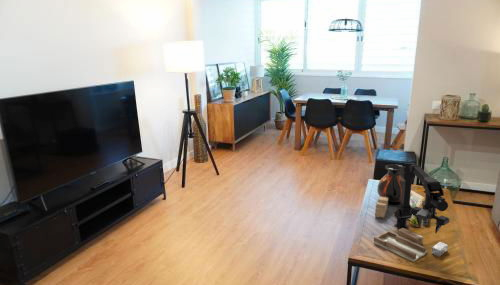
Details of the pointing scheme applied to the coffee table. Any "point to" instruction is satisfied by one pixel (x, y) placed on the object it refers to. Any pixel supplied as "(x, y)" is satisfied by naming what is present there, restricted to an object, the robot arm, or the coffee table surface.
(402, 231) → the long tan block
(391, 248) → the jig
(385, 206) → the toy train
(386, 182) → the amphora vase
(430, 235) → the coffee table surface
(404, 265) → the coffee table surface
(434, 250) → the white rectangular block
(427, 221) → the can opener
